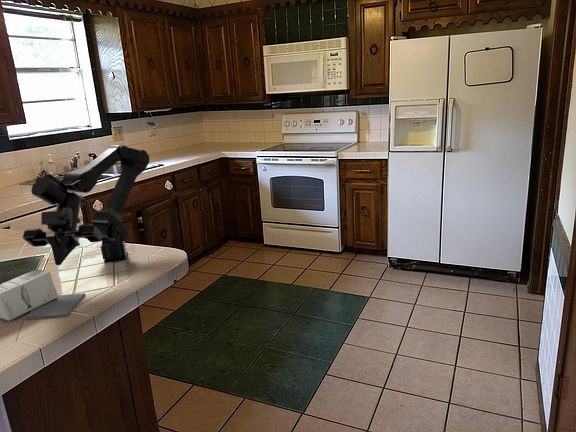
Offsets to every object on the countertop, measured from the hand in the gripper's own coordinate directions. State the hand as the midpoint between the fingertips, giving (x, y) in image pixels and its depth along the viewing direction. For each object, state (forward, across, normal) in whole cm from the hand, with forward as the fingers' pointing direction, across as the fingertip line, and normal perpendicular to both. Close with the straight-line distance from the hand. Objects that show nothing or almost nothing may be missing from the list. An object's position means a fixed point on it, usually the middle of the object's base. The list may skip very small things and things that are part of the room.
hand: (57, 264), depth 115 cm
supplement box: (+4, -3, +2) cm, 5 cm away
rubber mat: (+11, +1, +1) cm, 11 cm away
